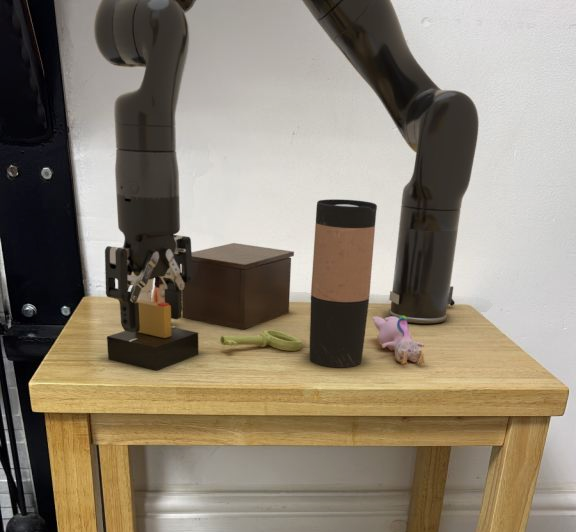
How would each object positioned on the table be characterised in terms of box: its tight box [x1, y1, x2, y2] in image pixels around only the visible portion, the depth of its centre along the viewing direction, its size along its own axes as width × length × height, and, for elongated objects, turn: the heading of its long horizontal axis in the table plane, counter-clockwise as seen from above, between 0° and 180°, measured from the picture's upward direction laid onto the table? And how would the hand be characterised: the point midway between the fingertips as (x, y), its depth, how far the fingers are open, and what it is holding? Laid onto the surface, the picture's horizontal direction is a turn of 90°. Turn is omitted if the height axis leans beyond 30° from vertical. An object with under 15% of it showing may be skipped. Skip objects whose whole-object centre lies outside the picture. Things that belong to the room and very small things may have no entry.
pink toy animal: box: [372, 315, 425, 367], centre depth 110 cm, size 6×6×15 cm
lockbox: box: [180, 257, 292, 330], centre depth 124 cm, size 14×12×9 cm
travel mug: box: [309, 198, 378, 368], centre depth 101 cm, size 8×8×20 cm
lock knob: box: [136, 300, 172, 338], centre depth 101 cm, size 5×1×4 cm, turn 60°
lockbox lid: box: [191, 242, 295, 269], centre depth 122 cm, size 14×12×1 cm
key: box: [219, 329, 304, 352], centre depth 109 cm, size 7×12×2 cm, turn 140°
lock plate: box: [106, 325, 199, 371], centre depth 103 cm, size 9×8×3 cm
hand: (152, 324), depth 102 cm, fingers open, 8 cm apart
